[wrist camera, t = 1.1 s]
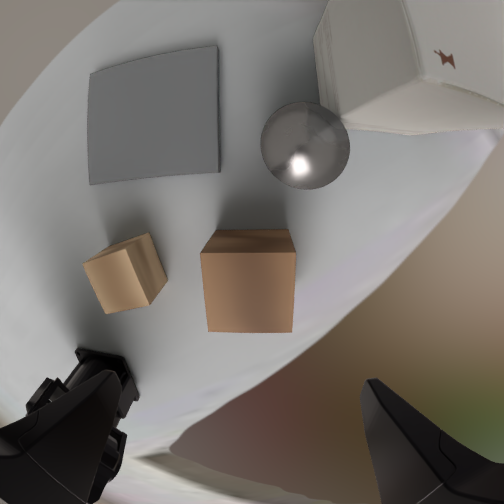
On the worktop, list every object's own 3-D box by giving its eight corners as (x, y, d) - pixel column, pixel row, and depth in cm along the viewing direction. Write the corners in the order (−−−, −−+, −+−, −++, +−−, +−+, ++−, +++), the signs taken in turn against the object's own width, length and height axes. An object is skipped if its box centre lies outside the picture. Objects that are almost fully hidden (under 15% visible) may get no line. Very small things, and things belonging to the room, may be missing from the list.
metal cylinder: (262, 181, 18) (261, 189, 13) (261, 117, 16) (259, 101, 12) (327, 182, 18) (349, 190, 13) (327, 119, 16) (348, 105, 11)
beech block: (128, 290, 21) (105, 314, 17) (109, 246, 20) (82, 263, 16) (168, 280, 21) (149, 305, 17) (149, 232, 19) (125, 248, 16)
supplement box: (414, 137, 16) (553, 138, 4) (319, 129, 16) (416, 80, 5) (403, 49, 14) (509, -14, 2) (310, 34, 14) (359, -86, 2)
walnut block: (220, 294, 21) (208, 331, 16) (216, 229, 19) (200, 253, 14) (286, 294, 20) (292, 332, 16) (288, 229, 19) (296, 252, 14)
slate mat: (95, 184, 18) (89, 185, 17) (95, 76, 15) (90, 74, 15) (220, 172, 18) (218, 172, 17) (218, 49, 15) (216, 45, 14)
